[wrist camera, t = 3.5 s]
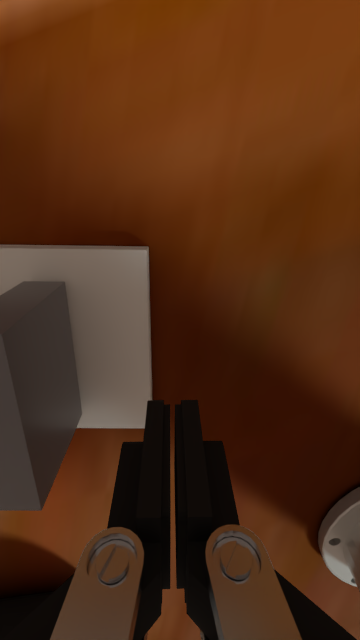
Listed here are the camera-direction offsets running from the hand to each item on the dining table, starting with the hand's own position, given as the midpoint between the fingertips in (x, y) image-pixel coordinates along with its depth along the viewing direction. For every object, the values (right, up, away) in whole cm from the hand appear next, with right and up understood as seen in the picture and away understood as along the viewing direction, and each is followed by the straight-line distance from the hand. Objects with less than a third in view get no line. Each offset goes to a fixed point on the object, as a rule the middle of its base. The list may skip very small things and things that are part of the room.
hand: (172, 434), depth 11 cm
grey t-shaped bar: (-9, +2, +6) cm, 11 cm away
